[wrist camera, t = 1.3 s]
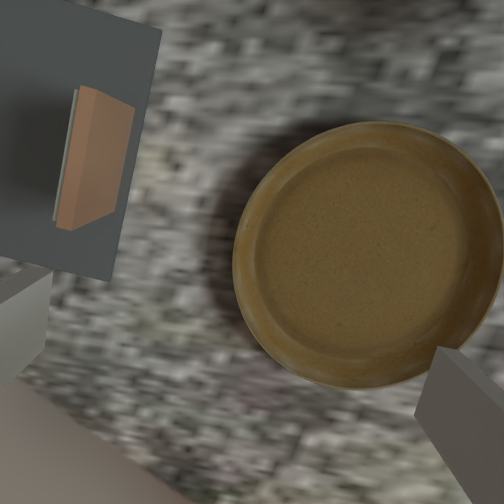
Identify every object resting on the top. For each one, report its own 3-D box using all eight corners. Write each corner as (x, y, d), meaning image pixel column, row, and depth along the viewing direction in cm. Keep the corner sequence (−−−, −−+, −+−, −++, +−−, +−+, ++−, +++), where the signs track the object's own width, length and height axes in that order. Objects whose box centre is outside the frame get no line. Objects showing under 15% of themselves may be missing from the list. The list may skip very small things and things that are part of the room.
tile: (118, 103, 35) (74, 83, 26) (135, 108, 35) (97, 89, 26) (98, 207, 37) (49, 225, 27) (114, 211, 37) (71, 230, 27)
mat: (-13, -22, 33) (-16, -24, 33) (162, 31, 35) (161, 29, 34) (-46, 243, 38) (-49, 244, 37) (110, 280, 39) (109, 282, 39)
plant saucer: (536, 201, 39) (563, 205, 36) (401, 409, 43) (414, 430, 40) (310, 72, 36) (318, 64, 33) (189, 311, 40) (184, 324, 37)
